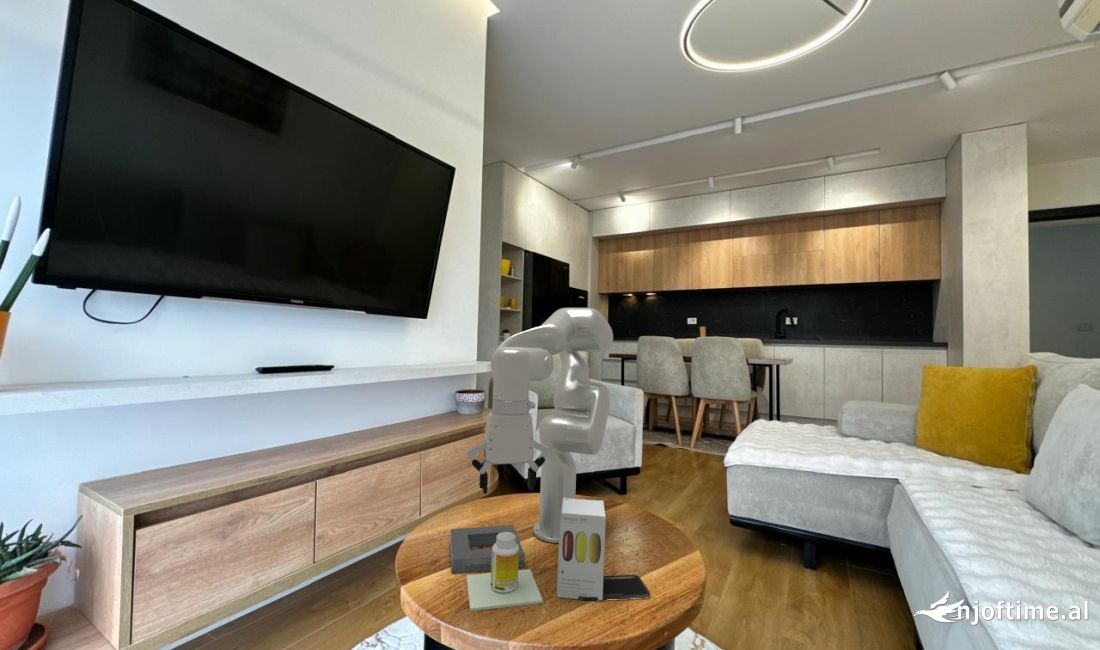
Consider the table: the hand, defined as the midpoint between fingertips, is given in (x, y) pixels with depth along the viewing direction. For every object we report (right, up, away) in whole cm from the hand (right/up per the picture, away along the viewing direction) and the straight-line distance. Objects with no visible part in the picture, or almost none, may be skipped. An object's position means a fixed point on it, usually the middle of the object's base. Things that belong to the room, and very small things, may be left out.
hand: (507, 490), depth 90 cm
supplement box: (+15, -21, +1) cm, 26 cm away
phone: (+21, -21, 0) cm, 30 cm away
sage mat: (-1, -20, -1) cm, 20 cm away
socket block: (-7, -20, +14) cm, 25 cm away
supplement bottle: (-1, -20, -1) cm, 20 cm away
